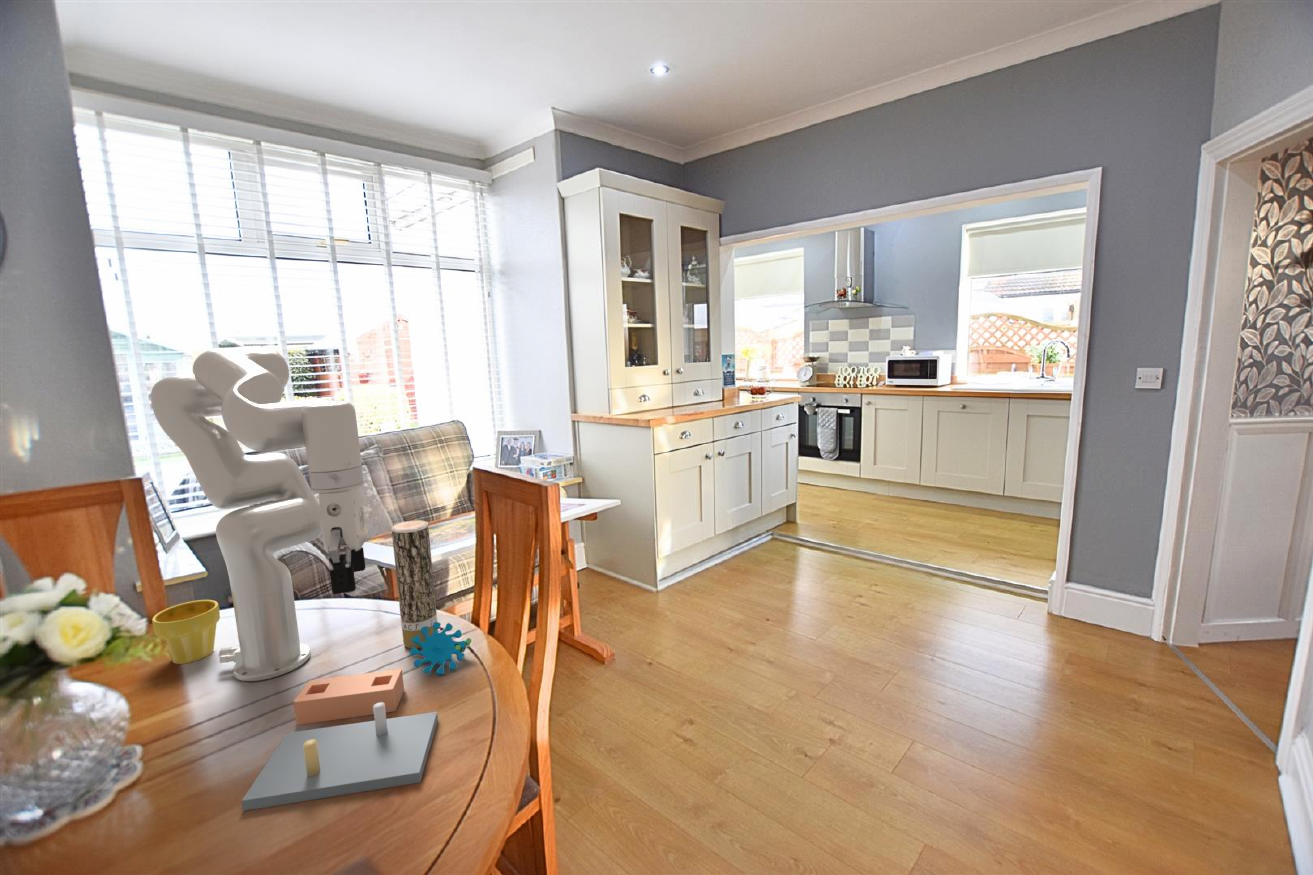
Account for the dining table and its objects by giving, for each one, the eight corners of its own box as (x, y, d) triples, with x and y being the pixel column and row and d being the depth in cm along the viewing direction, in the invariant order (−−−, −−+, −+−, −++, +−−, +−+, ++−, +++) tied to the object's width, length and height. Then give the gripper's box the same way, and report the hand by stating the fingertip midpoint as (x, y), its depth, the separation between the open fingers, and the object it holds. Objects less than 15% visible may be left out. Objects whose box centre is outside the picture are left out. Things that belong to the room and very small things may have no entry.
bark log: (426, 631, 124) (415, 518, 121) (445, 639, 120) (434, 523, 117) (397, 644, 119) (384, 527, 115) (415, 653, 115) (403, 532, 111)
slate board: (243, 810, 76) (236, 769, 75) (288, 741, 89) (283, 705, 89) (420, 782, 80) (416, 742, 79) (437, 720, 94) (434, 685, 93)
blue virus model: (411, 677, 103) (409, 623, 109) (407, 688, 107) (405, 636, 113) (475, 667, 109) (469, 616, 115) (469, 678, 113) (464, 628, 118)
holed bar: (296, 724, 94) (293, 702, 93) (311, 701, 100) (309, 680, 99) (395, 711, 96) (392, 688, 96) (404, 689, 103) (401, 668, 102)
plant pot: (190, 671, 111) (182, 623, 110) (145, 667, 113) (137, 620, 112) (237, 644, 121) (230, 600, 120) (196, 641, 123) (189, 598, 122)
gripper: (353, 487, 86) (367, 596, 88) (370, 467, 102) (381, 561, 104) (296, 493, 83) (311, 605, 86) (322, 472, 100) (335, 567, 102)
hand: (350, 581), depth 95 cm, fingers open, 9 cm apart
